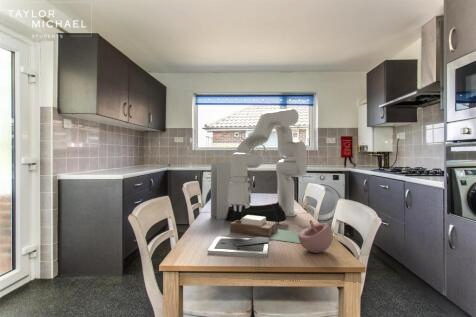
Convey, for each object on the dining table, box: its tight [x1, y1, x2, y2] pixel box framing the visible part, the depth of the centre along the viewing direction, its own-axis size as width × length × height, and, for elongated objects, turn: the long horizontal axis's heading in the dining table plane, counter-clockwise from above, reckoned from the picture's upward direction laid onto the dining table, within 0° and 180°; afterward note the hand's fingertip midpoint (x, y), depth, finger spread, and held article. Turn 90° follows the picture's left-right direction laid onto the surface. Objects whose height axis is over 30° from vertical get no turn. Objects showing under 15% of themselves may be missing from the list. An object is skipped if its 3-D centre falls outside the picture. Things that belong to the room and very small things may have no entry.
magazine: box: [224, 202, 287, 225], centre depth 141 cm, size 17×3×30 cm
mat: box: [269, 229, 301, 245], centre depth 120 cm, size 15×14×1 cm
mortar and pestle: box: [298, 219, 334, 254], centre depth 102 cm, size 12×12×12 cm
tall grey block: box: [210, 161, 231, 220], centre depth 155 cm, size 14×6×30 cm, turn 133°
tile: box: [242, 215, 266, 226], centre depth 126 cm, size 7×9×2 cm
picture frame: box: [207, 236, 270, 259], centre depth 105 cm, size 16×3×21 cm
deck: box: [229, 219, 278, 238], centre depth 126 cm, size 12×18×4 cm, turn 66°
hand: (238, 219), depth 129 cm, fingers closed
